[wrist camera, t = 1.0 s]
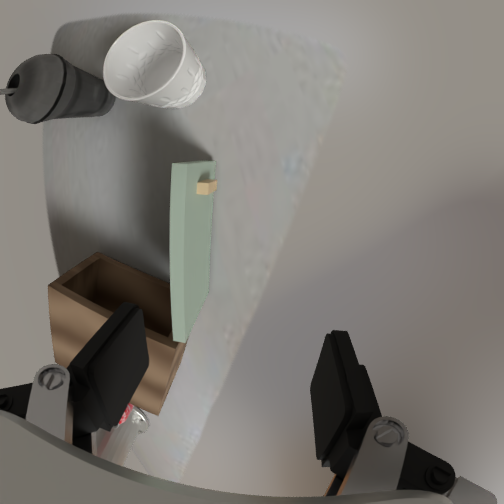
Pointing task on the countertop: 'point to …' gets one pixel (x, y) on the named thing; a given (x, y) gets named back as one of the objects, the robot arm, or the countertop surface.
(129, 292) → the wooden storage crate
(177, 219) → the door
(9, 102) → the beverage cup
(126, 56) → the white cup
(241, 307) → the countertop surface
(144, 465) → the countertop surface
